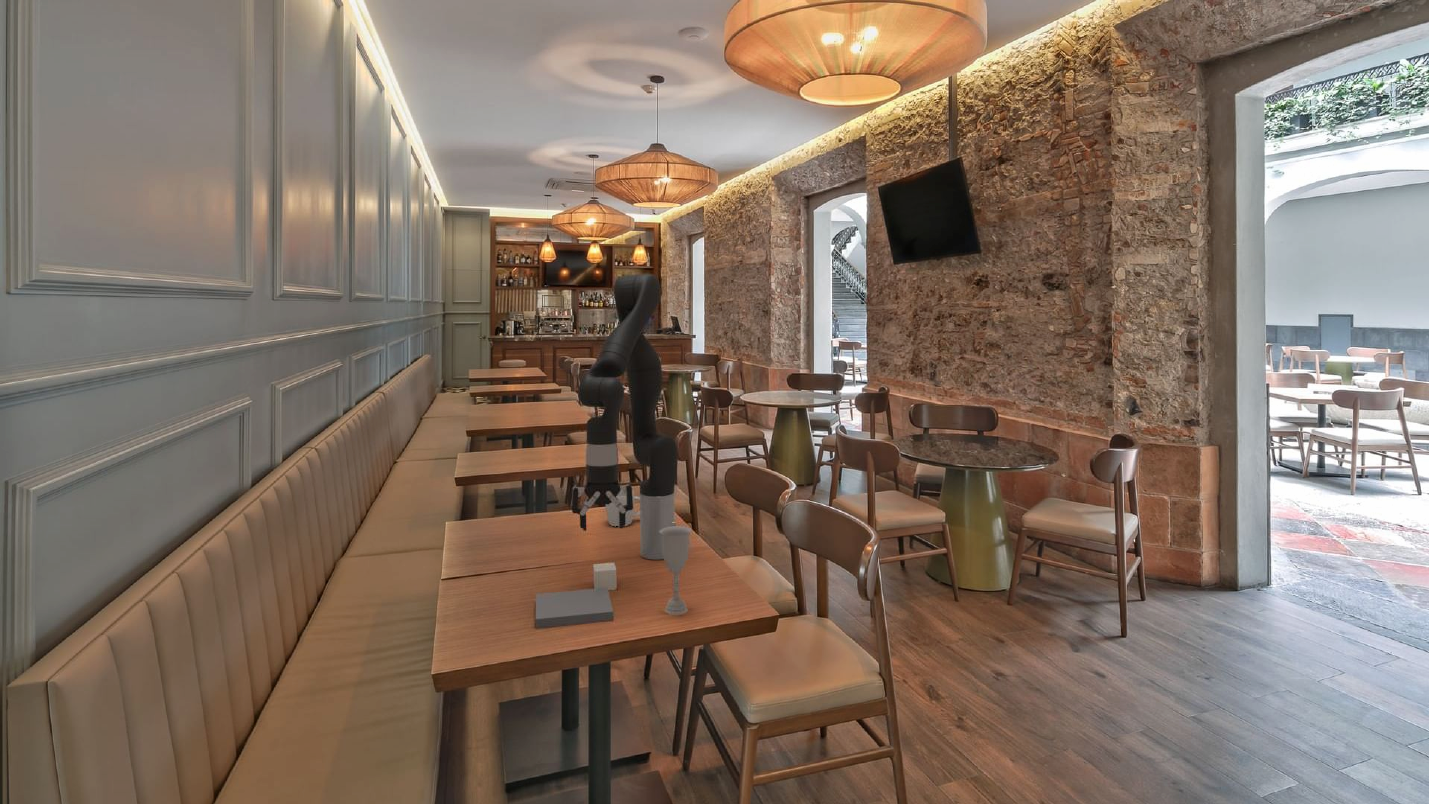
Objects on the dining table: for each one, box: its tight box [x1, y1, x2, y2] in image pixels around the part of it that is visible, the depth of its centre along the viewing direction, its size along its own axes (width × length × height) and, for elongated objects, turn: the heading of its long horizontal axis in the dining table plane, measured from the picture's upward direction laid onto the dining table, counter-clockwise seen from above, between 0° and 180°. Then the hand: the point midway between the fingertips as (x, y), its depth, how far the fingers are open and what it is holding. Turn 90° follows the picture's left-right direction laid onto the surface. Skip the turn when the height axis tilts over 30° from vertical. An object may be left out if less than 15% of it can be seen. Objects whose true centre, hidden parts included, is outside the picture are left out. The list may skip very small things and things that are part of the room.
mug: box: [605, 490, 640, 528], centre depth 224 cm, size 13×9×10 cm
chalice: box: [659, 525, 692, 616], centre depth 157 cm, size 7×7×18 cm
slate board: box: [535, 588, 614, 629], centre depth 157 cm, size 16×14×2 cm
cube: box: [592, 562, 618, 591], centre depth 171 cm, size 5×5×5 cm
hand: (602, 528), depth 170 cm, fingers open, 8 cm apart
